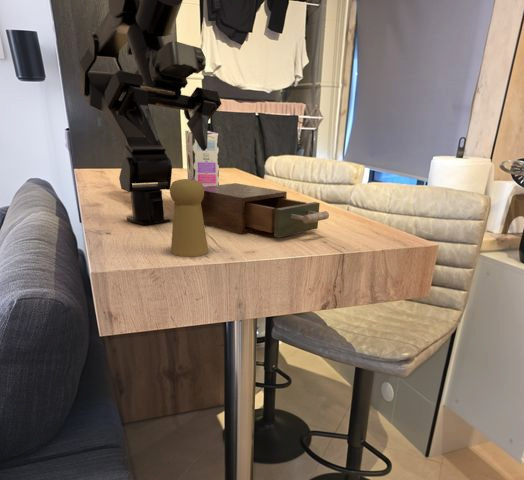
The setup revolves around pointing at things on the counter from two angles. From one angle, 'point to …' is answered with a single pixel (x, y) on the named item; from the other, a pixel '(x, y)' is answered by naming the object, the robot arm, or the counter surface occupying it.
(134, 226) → the counter surface
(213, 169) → the candy box
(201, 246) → the cork
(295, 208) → the drawer
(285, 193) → the cabinet
